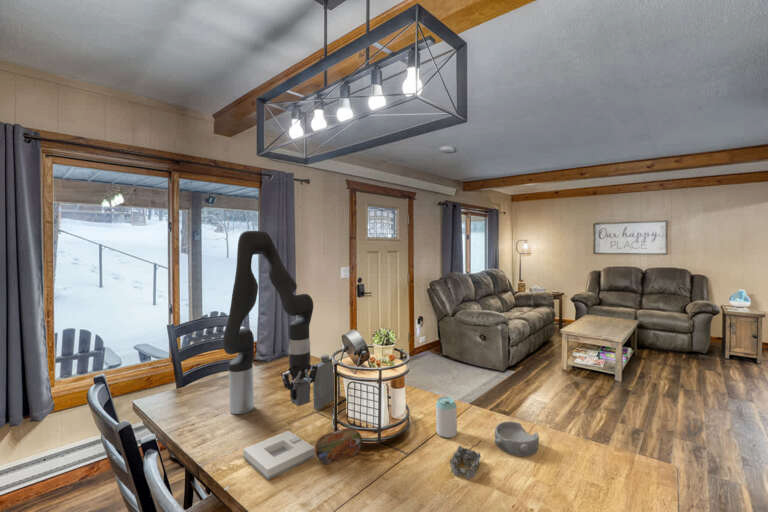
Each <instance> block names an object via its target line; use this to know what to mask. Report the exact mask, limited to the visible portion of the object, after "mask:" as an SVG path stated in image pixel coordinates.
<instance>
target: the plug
mask: <svg viewBox="0 0 768 512" xmlns="http://www.w3.org/2000/svg"><path fill="white" fill-rule="evenodd" d="M290 402H291V403H292V404H294V406H297V407H301V406H304V405H306V404H309V403H310V402H311V384H310V383H309V382H306V381H304V378H301V379H300V380H299V381H298V384H297V386H296V400H293V399H292V398H291V397H290Z"/></svg>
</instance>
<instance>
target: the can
mask: <svg viewBox="0 0 768 512" xmlns="http://www.w3.org/2000/svg"><path fill="white" fill-rule="evenodd" d="M457 412H458V411H457V403H456V402H455V399H454V398H452V397H450V396H449V397H448V396H442V397H439V398H438V399H437V402H436V403H435V413H436V414H435V415H436V416H435V418H436V419H435V420H436V423H435V425H436V433H437V435H438V436H440V437H441V436H442V438H443V439H444V438H445V439H450V438H451V439H452V438H453V437H455V436H457V434H458V427H457V426H458V424H457V423H458V421H457V419H458V417H457V415H458V414H457Z"/></svg>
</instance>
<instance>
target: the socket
mask: <svg viewBox="0 0 768 512" xmlns="http://www.w3.org/2000/svg"><path fill="white" fill-rule="evenodd" d="M242 449H243V451H242V452H243V459H244V460H245V461H246V460H247V461H246V462H247V463H248V462H249V463H248V464H249V465H251V466H252V467H253V468H254V469H255V470H256V471H257V472H258V473H260V475H262V477H264V478H265V479H266V480H267V481H269V480H271V479H273V478H274V477H277V476H279V475H281V474H283V473H285V472H287V471H289V470H291V469H293V468H295V467H297V466H299V465H301V464H303V463H305V462H308V461H309V460H311V459H314V458H315V457H316V454H315V446H312V445H311V444H310V443H308V442H307V441H306V440H303V439H302V438H301V437H300V436H298V435H296V434H295V433H293V432H291V431H290V430H285V431H283V432H281V433H279V434H277V435H273V436H271V437H269V438H267V439H264V440H261V441H259V442H257V443H254V444H252V445H249V446H247V447H244V448H242Z"/></svg>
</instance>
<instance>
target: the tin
mask: <svg viewBox="0 0 768 512" xmlns="http://www.w3.org/2000/svg"><path fill="white" fill-rule="evenodd" d="M362 443H363V439H362V435H361V433H360V432H359V431H358V430H356V429H354V428H352V427H347V428H342V429H340V430H336V431H333V432H332V431H331V432H328V433H326V434H323V435H322V436H320V437H319V438H318V440H317V442H316V443H315V446H314V450H315V457H316V458H317V459H318V461H319V463H322V464H324V465H328V464H329V465H330V464H332V463H336V462H339V461H342V460H345V459H348V458H349V459H350V458H351V457H354V456H355V455H356V454H357V453H358V452H359V451H360V450H361V447H362Z"/></svg>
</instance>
